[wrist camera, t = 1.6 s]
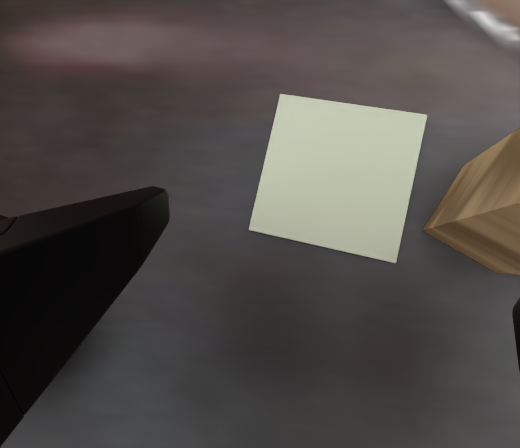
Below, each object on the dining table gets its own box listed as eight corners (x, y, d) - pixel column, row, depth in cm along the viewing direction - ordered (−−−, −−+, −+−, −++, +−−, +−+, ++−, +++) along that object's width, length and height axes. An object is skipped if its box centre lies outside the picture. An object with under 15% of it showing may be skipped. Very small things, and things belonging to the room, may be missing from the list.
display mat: (394, 263, 23) (395, 263, 23) (249, 230, 25) (248, 229, 25) (425, 117, 23) (427, 114, 23) (281, 96, 25) (280, 93, 25)
